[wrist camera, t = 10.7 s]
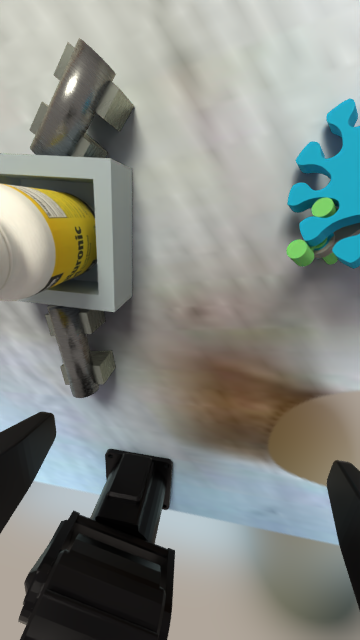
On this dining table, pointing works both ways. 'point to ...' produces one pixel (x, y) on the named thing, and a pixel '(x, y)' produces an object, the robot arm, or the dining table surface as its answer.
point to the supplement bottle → (43, 240)
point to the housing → (110, 220)
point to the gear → (330, 196)
